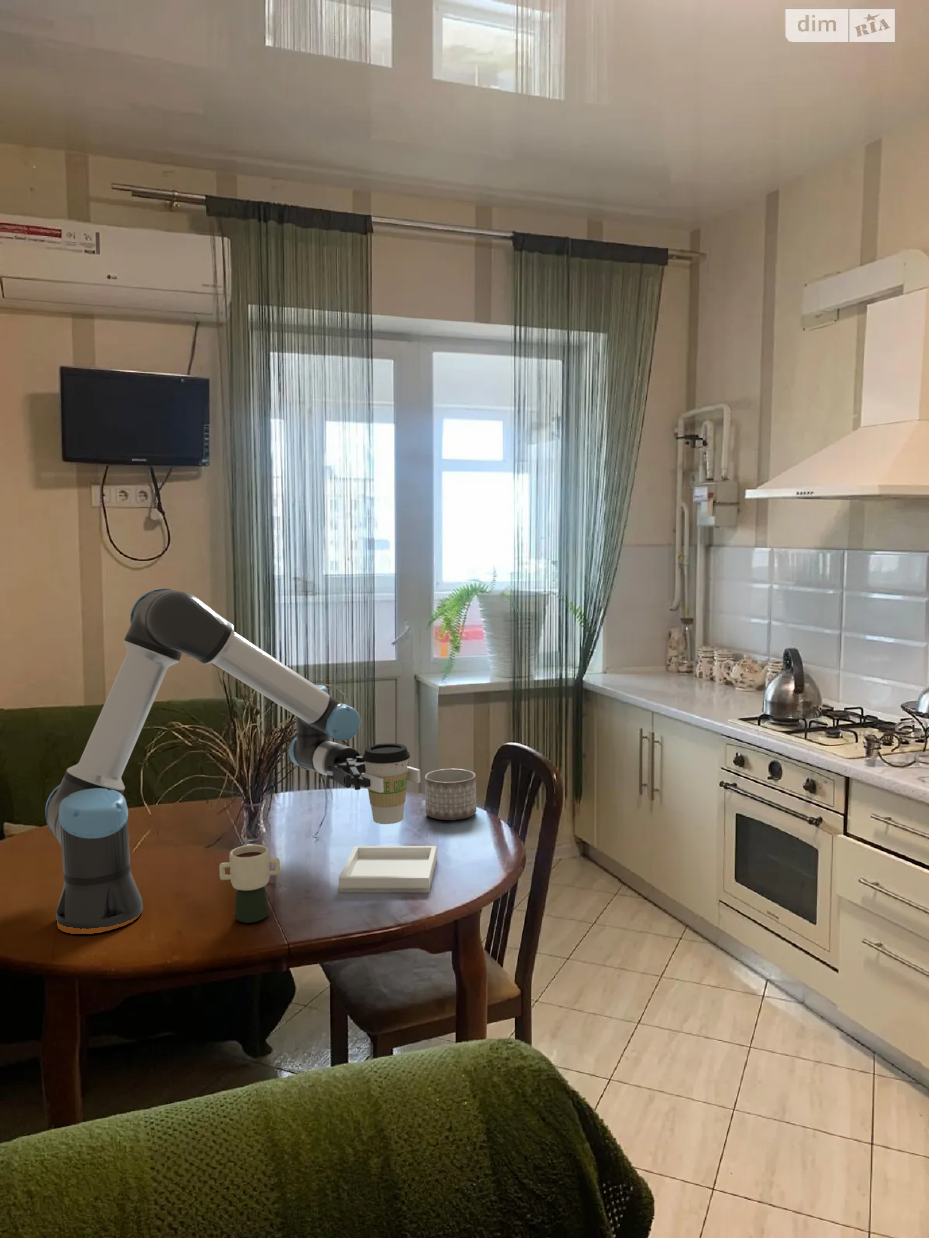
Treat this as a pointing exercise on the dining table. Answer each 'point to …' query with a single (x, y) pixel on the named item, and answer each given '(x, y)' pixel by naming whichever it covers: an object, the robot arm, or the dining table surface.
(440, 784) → the planter
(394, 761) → the coffee cup
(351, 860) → the tray
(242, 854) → the character mug
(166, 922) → the dining table surface
